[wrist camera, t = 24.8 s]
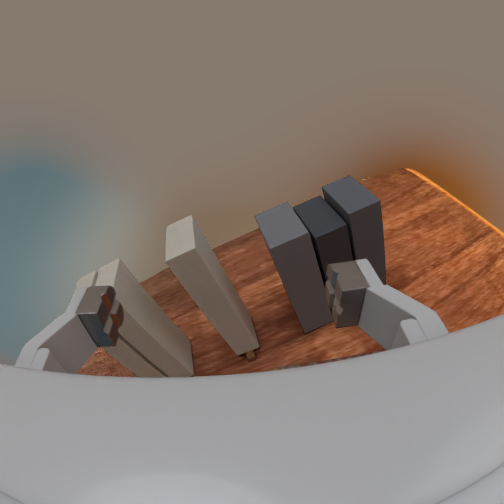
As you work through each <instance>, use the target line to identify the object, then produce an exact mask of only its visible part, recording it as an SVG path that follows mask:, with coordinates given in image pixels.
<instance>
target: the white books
mask: <svg viewBox="0 0 504 504" xmlns="http://www.w3.org/2000/svg"><path fill="white" fill-rule="evenodd" d="M91 286H112V287H113V288H114V290H115V292H116V296H115V298H116V299H117V300H118V301H120V303H121V305H122V307H123V311H124V320H123V324H122V326H121V327H119V328H118V329H117V330H118V332H119V337H118V340H117V343H116V346H113V347H101V348H103V349H104V350H105V351H106V352H107V353H109V354H110V355H111V356H112V357H114V358H115V359H116V360H117V361H118V362H120V363H121V364H122V365H124V366H125V367H126V368H127V369H129V370H130V371H131V372H133V373H134V374H135V375H137V376H138V377H148V378H161V377H190V376H193V375H194V370H193V361H192V352H191V343H190V340H189V339H188V338H187V337H186V336H185V334H184V333H183V332H182V331H181V330H180V329H179V328H178V327H177V326H176V325H175V324H174V322H173V321H172V320H171V319H170V318H169V317H168V316H167V315H166V313H165V312H164V311H163V310H162V309H161V308H160V307H159V305H158V304H157V303H156V302H155V301H154V300H153V298H152V297H151V296H150V295H149V294H148V293H147V291H146V290H145V289H144V288H143V287H142V285H141V284H140V283H139V282H138V281H137V279H136V278H135V277H134V276H133V274H132V273H131V272H130V271H129V269H128V268H127V267H126V266H125V264H124V263H123V262H122V261H121V259H120V258H119V259H117V260H115V261H113V262H111V263H109V264H107V265H105V266H103V267H101V268H100V270H99V273H98V272H97V271H94V272H92V273H90V274H88V275H86V276H84V277H82V278H80V279H79V280H78V282H77V285H76V288H75V291H74V294H75V292H76V291H77V289H78V288H80V287H91ZM73 296H74V295H73ZM246 355H247V359H248V360H249V361H252V360H255V359H256V356H255V352H254V349H253V350H251V351H248V352H246Z"/></svg>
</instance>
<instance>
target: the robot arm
mask: <svg viewBox="0 0 504 504" xmlns="http://www.w3.org/2000/svg"><path fill="white" fill-rule="evenodd" d="M326 273H327V276H328V278H329V279H328V280H327V281H326V283H325V296H326V301H327V304H328V307H330V308H331V309H332V318H333V321H334V323H335V326H336V328H342V327H349V326H356V325H358V327H359V328H361V329H362V330H363V331H364V332H365V333H367V334H368V335H369V336H370V337H371V338H373V339H374V340H375V341H376V342H377V343H379V344H380V345H381V346H382V347H383V348H385V349H386V350H387V351H383V352H378V353H374V354H369V355H365V356H360V357H355V358H350V359H345V360H339V361H334V362H328V363H322V364H316V365H310V366H303V367H297V368H289V369H282V370H273V371H265V372H255V373H245V374H233V375H218V376H200V377H161V378H148V377H111V376H94V375H81V374H76V373H77V372H78V371H79V369H80V368H81V367H82V366H83V365H84V363H85V362H86V361H87V360H88V359H89V357H90V356H91V355H92V354H93V353H94V352H95V350H96V349H97V348H98V347H113V346H116V343H117V340H118V337H119V332H118V330H117V329H118V328H119V327H121V326H122V324H123V320H124V311H123V307H122V305H121V303H120V301H118V300H117V299H116V298H115V296H116V292H115V290H114V288H113V287H112V286H91V287H80V288H78V289H77V291H76V292H75V294H74V296H73V298H72V300H71V302H70V304H69V306H68V308H67V310H66V312H65V314H64V315H60V316H59V317H58V318H56V319H55V320H54V321H53V322H52V323H50V324H49V325H48V326H47V327H45V328H44V329H43V330H42V331H41V332H39V333H38V334H37V335H36V336H35V337H33V338H32V339H31V340H30V341H29V342H28V343H26V344H25V345H24V346H23V349H22V351H21V353H20V355H19V357H18V359H17V361H16V364H15V366H11V365H4V364H0V504H504V314H502V315H499V316H497V317H494V318H492V319H489V320H486V321H484V322H481V323H478V324H475V325H473V326H470V327H467V328H464V329H461V330H458V331H455V332H452V333H449V332H448V330H447V329H446V327H445V325H444V324H443V322H442V321H441V319H440V318H439V316H438V314H437V313H436V312H435V311H434V310H432V309H430V308H428V307H426V306H425V305H423V304H421V303H419V302H418V301H416V300H414V299H412V298H410V297H409V296H407V295H405V294H403V293H401V292H400V291H398V290H396V289H394V288H392V287H390V286H389V285H383V283H382V282H381V280H380V279H379V277H378V275H377V274H376V272H375V271H374V269H373V267H372V266H371V264H370V263H369V261H368V260H367V259H360V260H354V261H349V262H341V263H333V264H328V266H327V272H326Z"/></svg>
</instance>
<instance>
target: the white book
mask: <svg viewBox="0 0 504 504" xmlns="http://www.w3.org/2000/svg"><path fill="white" fill-rule="evenodd" d="M165 256H166V257H165V262H166V263H167V264H168V266H169V267H170V269H171V270H172V272H173V273H174V274H175V276H176V277H177V278H178V280H179V281H180V283H181V284H182V285H183V287H184V288H185V289H186V291H187V292H188V293H189V295H190V296H191V297H192V299H193V300H194V301H195V303H196V304H197V305H198V307H199V308H200V309H201V310H202V312H203V313H204V314H205V316H206V317H207V318H208V319H209V321H210V322H211V323H212V325H213V326H214V327H215V328H216V330H217V331H218V332H219V333H220V335H221V336H222V337H223V338H224V340H225V341H226V342H227V343H228V345H229V346H230V347H231V348H232V349H233V351H234V352H235V353H236V354H237V355H240V354H243V353H246V352H248V351H251V350H253V349H256V348H259V343H258V340H257V337H256V333H255V330H254V326H253V323H252V320H251V316H250V313H249V311H248V309H247V308H246V306H245V304H244V303H243V301H242V299H241V298H240V296H239V294H238V293H237V291H236V289H235V288H234V286H233V284H232V283H231V281H230V279H229V278H228V276H227V274H226V273H225V271H224V269H223V267H222V266H221V264H220V262H219V261H218V259H217V257H216V255H215V254H214V252H213V250H212V249H211V247H210V245H209V243H208V242H207V240H206V238H205V236H204V235H203V233H202V232H201V230H200V228H199V226H198V224H197V222H196V221H195V219H194V217H193V215H190V216H188V217H186V218H184V219H182V220H180V221H178V222H176V223H173V224H171V225H169V226H167V231H166V255H165Z"/></svg>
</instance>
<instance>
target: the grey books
mask: <svg viewBox="0 0 504 504" xmlns="http://www.w3.org/2000/svg"><path fill="white" fill-rule="evenodd" d="M322 190H323V194H324V198H325V200H324V199H323V198H322V197H321V196H318V197H316V198H313V199H311V200H309V201H306V202H304V203H301V204H299V205H297V206H295V207H293V209H294V210H293V209H292V208H291V206H290V205H289V203H288V202H285V203H282V204H281V205H278V206H275V207H273V208H271V209H269V210H266V211H264V212H262V213H259V214H257V215H255V219H256V221H257V224H258V226H259V228H260V231H261V233H262V235H263V238H264V240H265V242H266V245H267V247H268V249H269V252H270V254H271V257H272V259H273V261H274V264H275V266H276V268H277V271H278V273H279V275H280V278H281V280H282V283H283V285H284V287H285V290H286V292H287V294H288V297H289V299H290V302H291V304H292V306H293V308H294V311H295V313H296V315H297V317H298V320H299V322H300V324H301V327H302V329H303V331H304V333H308V332H310V331H312V330H314V329H317V328H319V327H321V326H323V325H325V324H327V323H330V322H332V321H333V319H332V315H331V312H332V309H331V308H330V307H328V304H327V301H326V296H325V283H326V281H327V280H328V279H329V278H328V276H327V273H326V272H327V266H328V264H333V263H341V262H349V261H354V260H360V259H367V260H368V261H369V263H370V264H371V266H372V267H373V269H374V271H375V272H376V274H377V275H378V277H379V279H380V280H381V282H382V283H383V285H386V269H385V249H384V235H383V223H382V212H381V203H380V200H379V199H378V198H377V197H376V196H374V195H373V194H372V193H371V192H370V191H368V190H367V189H366V188H365V187H364V186H362V185H361V184H360V183H359V182H357V181H356V180H355V179H353V178H352V177H351V176H347V177H344V178H342V179H340V180H337V181H335V182H332V183H330V184H327V185H325V186H323V187H322ZM330 310H331V311H330Z"/></svg>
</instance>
